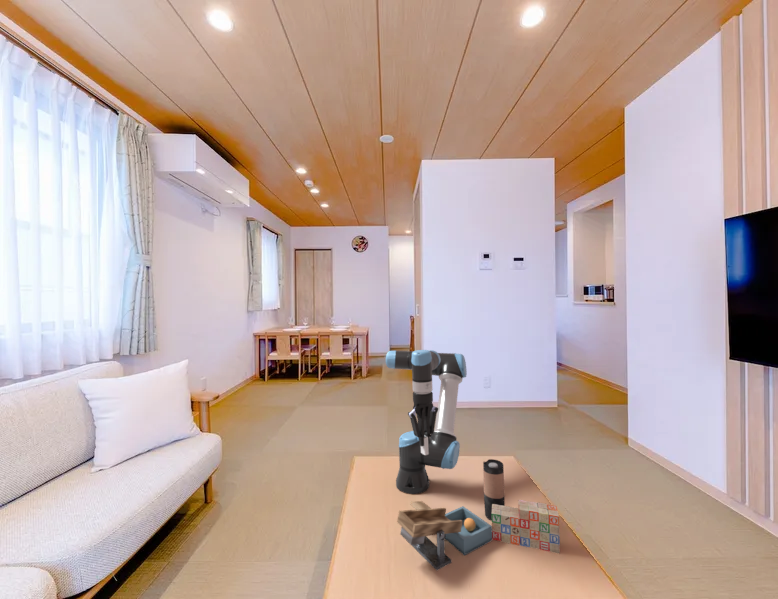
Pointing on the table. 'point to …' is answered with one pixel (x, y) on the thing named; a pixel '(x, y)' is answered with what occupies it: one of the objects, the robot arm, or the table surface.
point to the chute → (425, 522)
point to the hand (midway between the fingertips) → (424, 453)
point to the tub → (468, 532)
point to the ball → (469, 524)
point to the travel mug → (493, 485)
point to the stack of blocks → (527, 525)
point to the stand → (434, 551)
